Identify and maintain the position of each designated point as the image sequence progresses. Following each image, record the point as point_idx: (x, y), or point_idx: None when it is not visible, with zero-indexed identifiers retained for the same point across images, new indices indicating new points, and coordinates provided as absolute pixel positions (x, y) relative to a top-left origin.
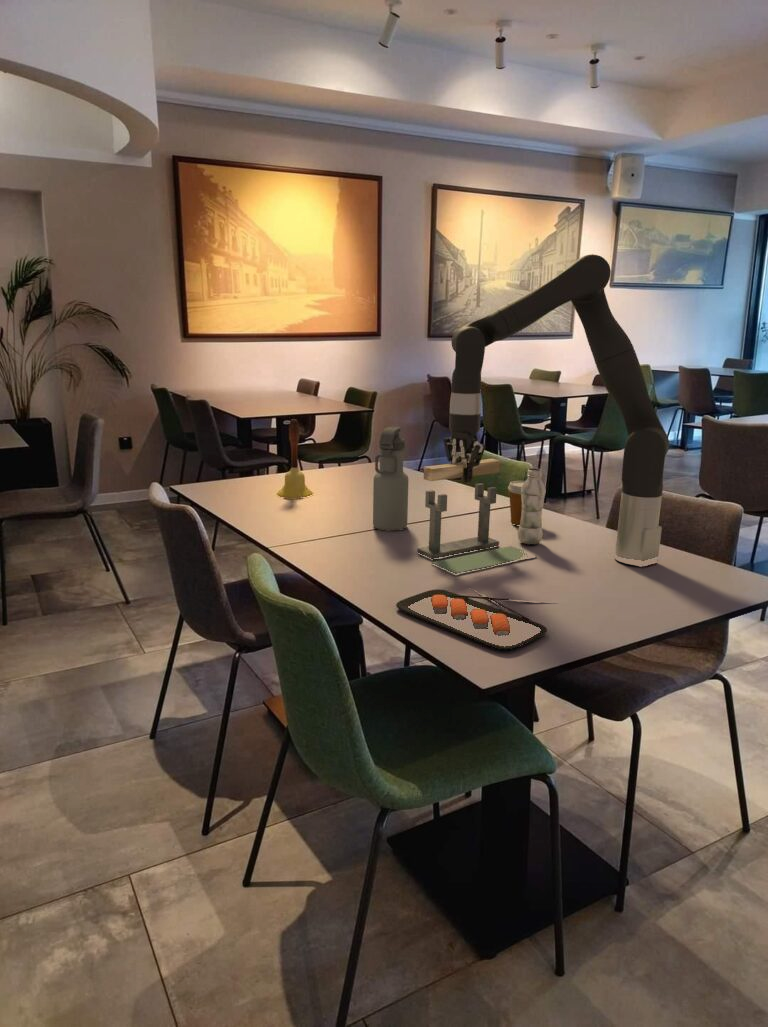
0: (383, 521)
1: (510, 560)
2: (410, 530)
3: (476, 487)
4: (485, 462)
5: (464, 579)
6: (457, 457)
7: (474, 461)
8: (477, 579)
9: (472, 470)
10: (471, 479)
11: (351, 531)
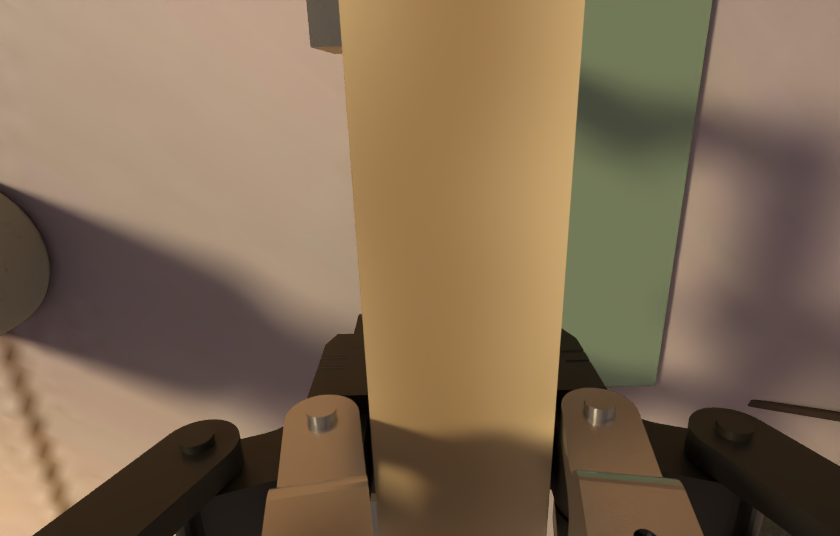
0: (3, 333)
1: (689, 103)
2: (58, 201)
3: (336, 47)
4: (576, 96)
5: (694, 374)
6: (226, 463)
7: (750, 522)
8: (724, 339)
9: (605, 388)
10: (567, 336)
11: (6, 419)
